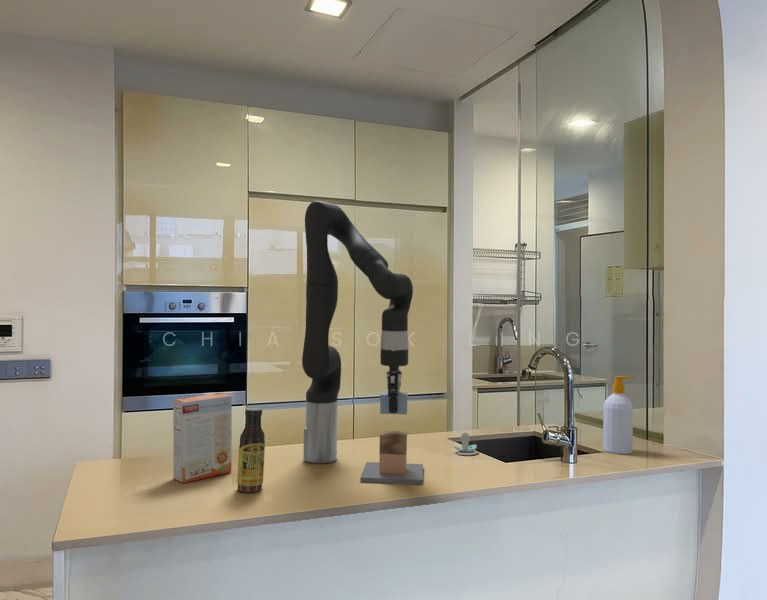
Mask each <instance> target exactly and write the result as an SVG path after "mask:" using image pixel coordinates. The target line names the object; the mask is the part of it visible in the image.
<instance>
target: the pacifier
mask: <svg viewBox="0 0 767 600" xmlns="http://www.w3.org/2000/svg"><path fill="white" fill-rule="evenodd" d="M460 441H461V447H458V446H456V445H453V448H455V449H456V451H457V450H458V451H457V453H456V454H457V455H460V456H475V455H477V454H478V452H477V451H476V449H478V447H477V446H478V445H477V444H472V445H469V442H470V441H471V437H470V434H469V433H467V432H463V433H461V435H460Z"/></svg>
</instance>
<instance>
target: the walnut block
mask: <svg viewBox="0 0 767 600" xmlns="http://www.w3.org/2000/svg"><path fill="white" fill-rule="evenodd" d="M407 448H408V432H407V431H400V430H398V431H397V430H381V431H380V434H379V455H380V454H396V455H406V451H407V452H408V449H407Z"/></svg>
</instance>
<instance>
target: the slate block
mask: <svg viewBox="0 0 767 600" xmlns="http://www.w3.org/2000/svg"><path fill="white" fill-rule="evenodd" d="M391 393H396V392H391ZM408 394H409V393H408V392H403V391H402V392H401V391H399V392H398V405H397V413H390V412H389V397H388V391H382V392H381V393H380V397H379V398H380V399H379V400H380V401H379V403H380V404H379V405H380V407H379V408H380V409H379V411H380V412H379V414H380V415H382V414H383V415H407V414H408V396H409V395H408Z"/></svg>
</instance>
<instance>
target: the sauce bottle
mask: <svg viewBox="0 0 767 600" xmlns="http://www.w3.org/2000/svg"><path fill="white" fill-rule="evenodd" d="M244 414H245V415H244V416H245V424H244V425H245V426H244V428H243V430H242V433H241V434H240V438H239V446H238V462H237V476H236V477H237V479H236V483H237V491H239V492H241V493H255V492H259V491H261V490H262V488H263V484H264V471H265V452H266V451H265V449H266V443H265V442H266V441H265V439H266V438H265V433H264V431H263V428H262V415H263V409H262V408H261V407H260V408H259V407H247V408H245V411H244Z"/></svg>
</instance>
